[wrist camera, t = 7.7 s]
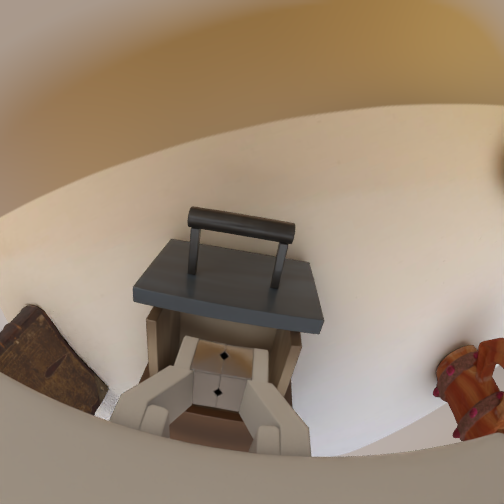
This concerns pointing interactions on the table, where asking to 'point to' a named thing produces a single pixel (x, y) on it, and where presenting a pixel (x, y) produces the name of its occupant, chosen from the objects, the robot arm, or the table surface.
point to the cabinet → (212, 426)
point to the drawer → (230, 295)
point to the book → (48, 362)
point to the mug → (473, 389)
